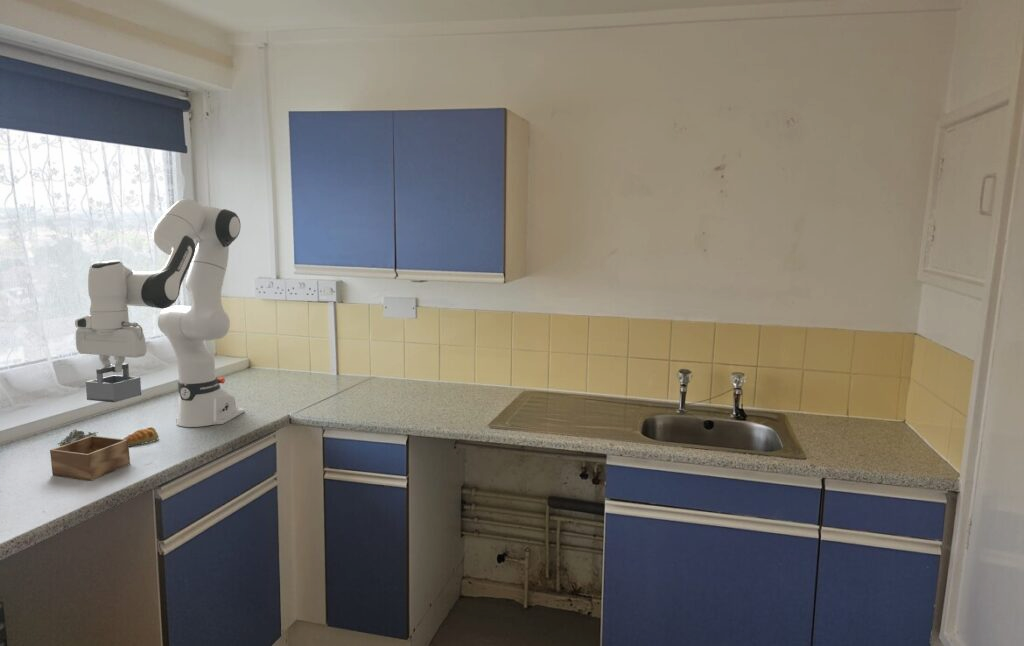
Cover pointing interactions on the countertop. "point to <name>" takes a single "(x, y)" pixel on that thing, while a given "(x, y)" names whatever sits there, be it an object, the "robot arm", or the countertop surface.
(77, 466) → the big crate
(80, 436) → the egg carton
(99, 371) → the small crate
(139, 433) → the pastry
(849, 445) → the countertop surface
